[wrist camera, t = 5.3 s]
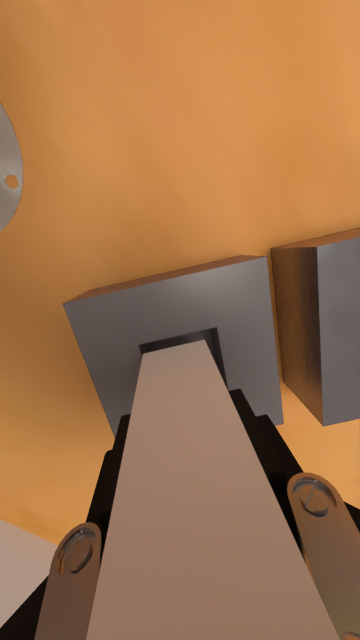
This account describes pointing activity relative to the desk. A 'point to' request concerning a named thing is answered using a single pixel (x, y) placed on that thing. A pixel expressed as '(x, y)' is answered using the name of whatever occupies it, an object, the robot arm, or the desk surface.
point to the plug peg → (198, 522)
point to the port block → (321, 323)
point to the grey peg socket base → (182, 330)
